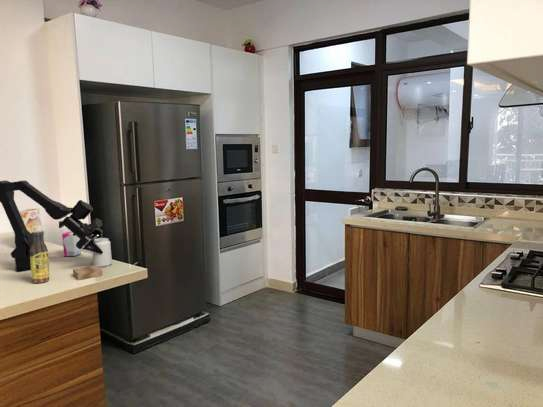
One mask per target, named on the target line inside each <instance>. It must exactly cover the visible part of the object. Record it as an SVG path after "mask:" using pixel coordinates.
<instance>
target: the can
mask: <svg viewBox="0 0 543 407" xmlns="http://www.w3.org/2000/svg"><path fill="white" fill-rule="evenodd" d="M94 241H95V243H96V245H97V246H98V247H99V248H100V249H101V250H102V251H103V253H102V254H99V253H96V252H92V260H93V262H92V263H93V266H94V265H96V266H98V267H99V268H100V269H102V268H108V267H110V266H111V265H112V263H113V258H112V249H111V248H112V247H111V241H110V240H109V238H107V237H102V238H98V239H94Z"/></svg>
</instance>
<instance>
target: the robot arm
mask: <svg viewBox="0 0 543 407" xmlns="http://www.w3.org/2000/svg"><path fill="white" fill-rule="evenodd" d="M15 191H20V192H21V193H22V194H24V195H26V196H27V197H28V198H30V199H31V200H33V201H34V202H35V203H37V204H38V205H39V206H41V207H42V208H43V209H44V211H45V212H46V214H47V215H48V216H49V217H50V218H51V219H52V220H55V221H57V220H60V221H58V228H59V229H61V228H64V227H65V228H67V229H68V230H69V232H73V234H72V235H73V236H75V235H76V236H77V237H78V238H80V240H79V241H78V242H77V243H76V247H77V248H78V249H81V250H85V251H89V252H92V253H93V252H96V253H99V254H102V253H103V251H102V250H101V249H100V248H99V247H98V246H97V245H96V243H95V241H94V239H98V238H103V234H104V233H103V232H104V230H103V229H101V227H103V226H104V225H103V220H101V219H99V218H94V219H93V220H92V222H91V223H89V224H88V223H87V222H86V223H85V222H84V223H83V221H81V220H85V219H86V218H87V217H88V216H89V215H90V214H91V213H92V211H94V207H93V206H92V205H91V204H90V203H87V202H85V201H83V200H82V199H79V200H78V201H77V202H76V204H75V205H74V206H73V207H69V206H66V205H65V204H63V203H61V202H59V201H56V200H54V199H52V198H50V197H49V196H47V195H45V194H44V193H43V192H42V191H40V190H39V189H38V188H36V187H35V186H34V185H32V184H30V182H29V181H28V180H17V181H9V180H0V203H1V206H2V208H3V209H4V213H5V214H6V217H7V219H8V221H9V223H10V226H11V229H12V231H13V233H15V236H14V245H16V246H15V248H14V249H13V250H12V251H11V252H10V256H11V258H12V259H14V264H15V265H14V269H15V271H16V272H18V273H19V272H25V271H29V270H30V271H31V262H30V249H31V246H32V245H33V236H32V233H30V232H29V231H28V230H27V229H26V226H25V224H24V222H23V220H22V217H21V215H20V213H19V211H20V210H19V208H18V206H17V203H16V201H15ZM68 215H69V216H68ZM61 219H63V220H61Z"/></svg>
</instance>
